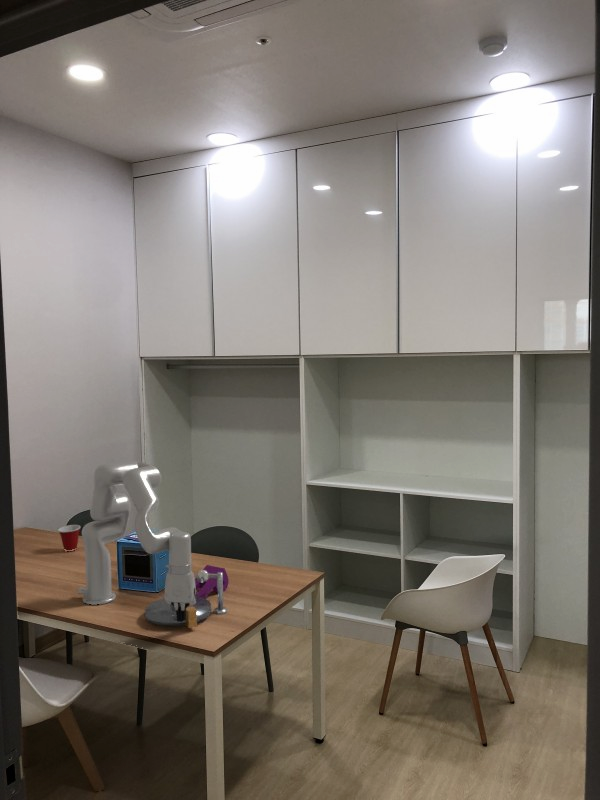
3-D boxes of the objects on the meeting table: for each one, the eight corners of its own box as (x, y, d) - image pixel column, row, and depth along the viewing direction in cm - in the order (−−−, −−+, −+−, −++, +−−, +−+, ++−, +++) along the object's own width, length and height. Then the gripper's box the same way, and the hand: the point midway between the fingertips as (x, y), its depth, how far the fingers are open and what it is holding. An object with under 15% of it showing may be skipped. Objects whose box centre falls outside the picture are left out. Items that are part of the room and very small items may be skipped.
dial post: (196, 612, 241) (195, 571, 240) (201, 607, 246) (200, 567, 245) (224, 614, 239) (224, 573, 238) (229, 609, 244) (228, 568, 243)
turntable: (159, 634, 218) (158, 617, 218) (137, 608, 242) (137, 592, 242) (224, 620, 230) (224, 603, 230) (197, 596, 254) (197, 581, 254)
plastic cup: (54, 551, 323) (53, 528, 323) (73, 546, 332) (72, 523, 331) (66, 555, 317) (65, 531, 316) (85, 550, 325) (85, 526, 325)
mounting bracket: (205, 615, 253) (230, 583, 267) (199, 599, 250) (224, 568, 263) (187, 611, 258) (212, 580, 272) (180, 595, 255) (206, 564, 268)
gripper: (155, 570, 220) (156, 623, 221) (196, 573, 217) (197, 626, 218) (164, 563, 227) (165, 614, 228) (204, 566, 224) (205, 617, 225)
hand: (181, 620), depth 223 cm, fingers closed
